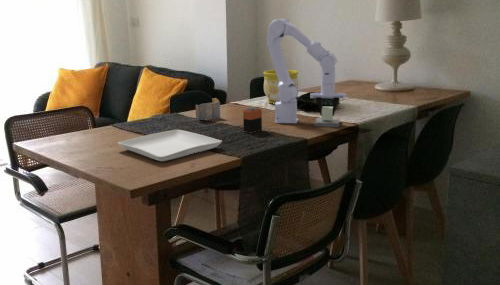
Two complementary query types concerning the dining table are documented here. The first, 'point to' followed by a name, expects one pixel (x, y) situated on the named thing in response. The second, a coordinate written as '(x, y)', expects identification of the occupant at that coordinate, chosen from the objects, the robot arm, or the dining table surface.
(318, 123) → the trivet
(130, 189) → the dining table surface
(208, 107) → the ruin model on sheet
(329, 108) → the block
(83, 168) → the dining table surface
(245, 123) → the battery
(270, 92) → the flowerpot
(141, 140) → the square plate
